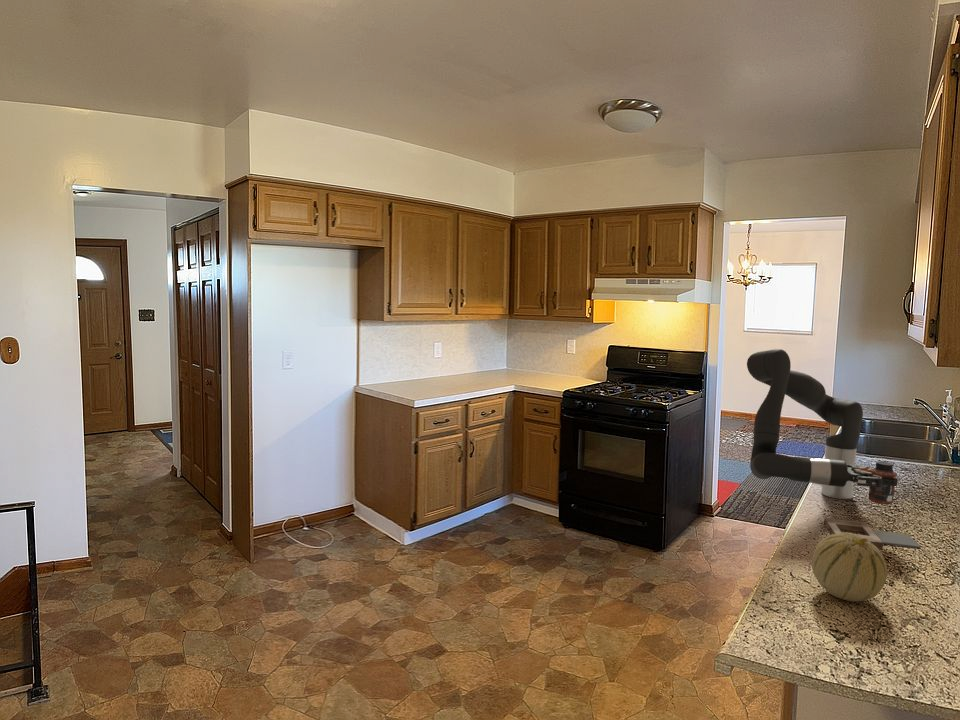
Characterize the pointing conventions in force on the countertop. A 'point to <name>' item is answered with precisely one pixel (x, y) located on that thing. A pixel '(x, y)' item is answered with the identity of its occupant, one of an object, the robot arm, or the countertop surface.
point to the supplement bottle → (885, 491)
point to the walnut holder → (853, 529)
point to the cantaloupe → (849, 567)
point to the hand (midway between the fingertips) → (892, 478)
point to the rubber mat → (896, 539)
